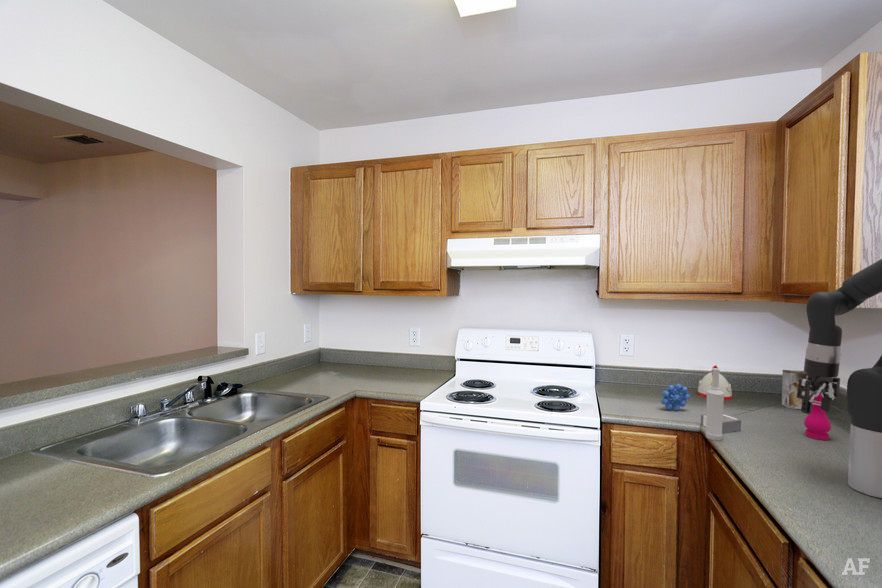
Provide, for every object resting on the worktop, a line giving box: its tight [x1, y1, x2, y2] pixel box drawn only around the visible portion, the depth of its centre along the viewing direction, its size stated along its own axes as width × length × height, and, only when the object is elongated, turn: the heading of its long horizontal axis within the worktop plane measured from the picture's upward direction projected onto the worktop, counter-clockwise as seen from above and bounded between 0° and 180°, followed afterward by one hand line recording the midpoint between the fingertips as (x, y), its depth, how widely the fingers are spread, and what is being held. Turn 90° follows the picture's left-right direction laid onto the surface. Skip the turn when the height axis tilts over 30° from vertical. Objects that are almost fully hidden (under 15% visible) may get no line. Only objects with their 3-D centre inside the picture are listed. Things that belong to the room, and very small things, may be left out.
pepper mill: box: [803, 393, 832, 441], centre depth 147 cm, size 7×7×20 cm
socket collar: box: [700, 413, 742, 434], centre depth 156 cm, size 9×9×4 cm
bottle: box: [704, 367, 725, 442], centre depth 146 cm, size 5×5×25 cm
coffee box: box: [781, 369, 808, 410], centre depth 182 cm, size 9×6×16 cm
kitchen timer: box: [697, 364, 733, 401], centre depth 199 cm, size 14×14×15 cm
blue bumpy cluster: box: [660, 382, 691, 411], centre depth 178 cm, size 12×7×12 cm, turn 84°
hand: (815, 411), depth 122 cm, fingers open, 8 cm apart
